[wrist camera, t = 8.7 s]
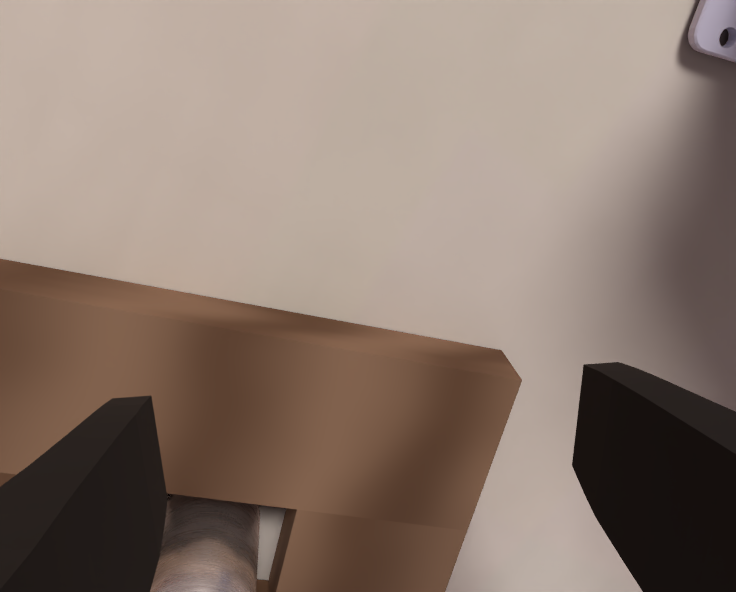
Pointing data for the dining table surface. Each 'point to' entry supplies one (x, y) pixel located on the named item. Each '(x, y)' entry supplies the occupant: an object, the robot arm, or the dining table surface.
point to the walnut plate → (268, 417)
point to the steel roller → (208, 546)
